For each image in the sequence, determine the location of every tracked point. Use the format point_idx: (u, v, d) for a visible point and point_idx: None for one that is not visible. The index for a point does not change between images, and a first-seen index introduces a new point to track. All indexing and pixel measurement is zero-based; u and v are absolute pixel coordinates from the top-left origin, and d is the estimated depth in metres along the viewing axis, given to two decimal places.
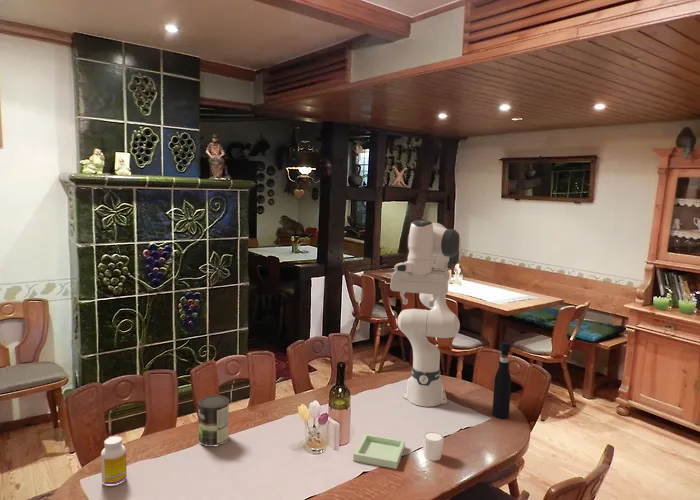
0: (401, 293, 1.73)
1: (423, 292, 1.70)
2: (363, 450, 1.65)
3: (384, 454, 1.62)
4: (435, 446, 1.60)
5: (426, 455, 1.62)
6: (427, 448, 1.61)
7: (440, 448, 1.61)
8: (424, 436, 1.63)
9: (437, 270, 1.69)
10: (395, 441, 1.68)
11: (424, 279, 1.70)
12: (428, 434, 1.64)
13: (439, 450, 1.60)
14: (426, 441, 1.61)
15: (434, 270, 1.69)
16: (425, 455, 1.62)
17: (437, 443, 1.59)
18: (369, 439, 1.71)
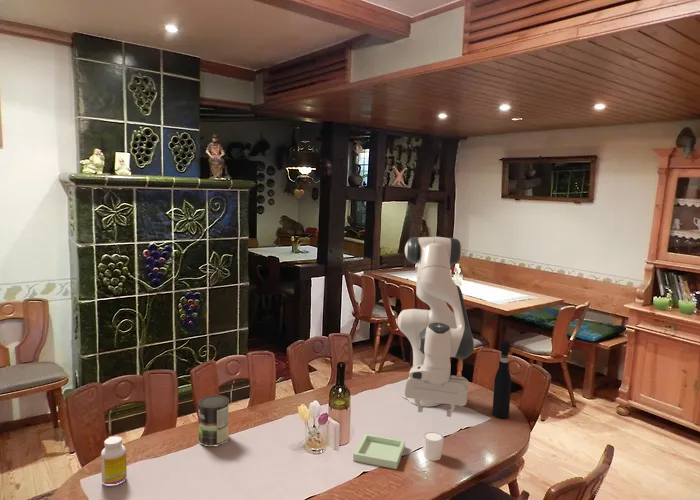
0: (416, 400, 1.62)
1: (440, 401, 1.59)
2: (363, 450, 1.65)
3: (384, 454, 1.62)
4: (435, 446, 1.60)
5: (426, 455, 1.62)
6: (427, 448, 1.61)
7: (440, 448, 1.61)
8: (424, 436, 1.63)
9: (455, 378, 1.58)
10: (395, 441, 1.68)
11: (441, 387, 1.58)
12: (428, 434, 1.64)
13: (439, 450, 1.60)
14: (426, 441, 1.61)
15: (452, 378, 1.58)
16: (425, 455, 1.62)
17: (437, 443, 1.59)
18: (369, 439, 1.71)
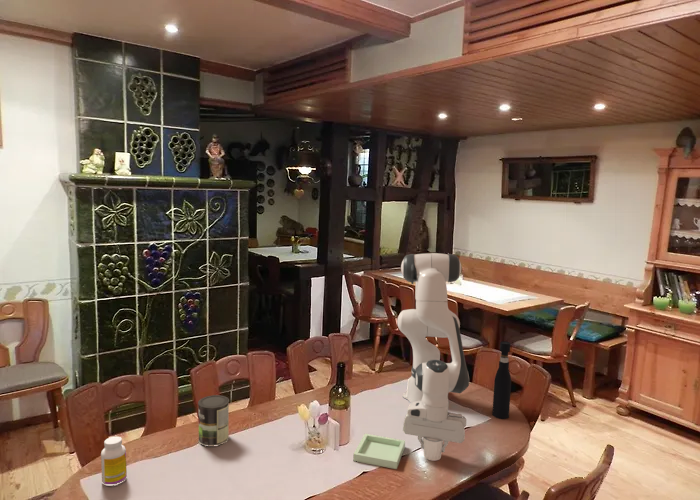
0: (419, 437, 1.63)
1: (438, 438, 1.60)
2: (363, 450, 1.65)
3: (384, 454, 1.62)
4: (435, 446, 1.60)
5: (426, 455, 1.62)
6: (427, 448, 1.61)
7: (440, 448, 1.61)
8: None
9: (453, 416, 1.59)
10: (395, 441, 1.68)
11: (439, 425, 1.60)
12: None
13: (439, 450, 1.60)
14: (426, 441, 1.61)
15: (450, 415, 1.60)
16: (425, 455, 1.62)
17: (437, 443, 1.59)
18: (369, 439, 1.71)
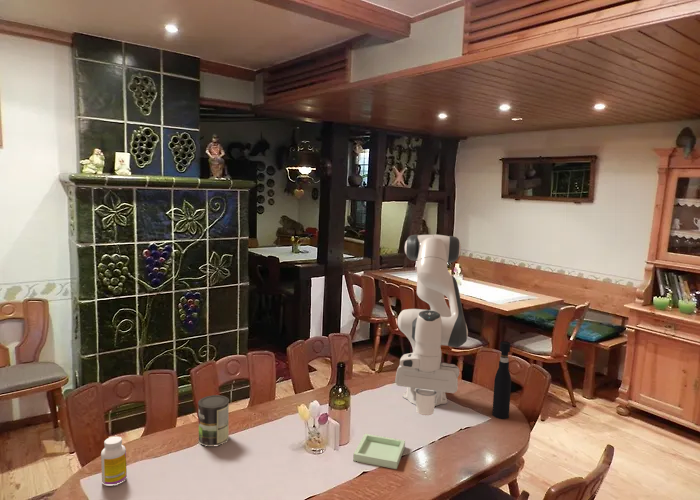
0: (412, 388, 1.61)
1: (431, 389, 1.58)
2: (363, 450, 1.65)
3: (384, 454, 1.62)
4: (428, 400, 1.58)
5: (419, 410, 1.60)
6: (420, 403, 1.59)
7: (433, 402, 1.59)
8: (417, 391, 1.60)
9: (446, 366, 1.58)
10: (395, 441, 1.68)
11: (432, 375, 1.58)
12: (420, 389, 1.62)
13: (432, 404, 1.59)
14: (419, 396, 1.59)
15: (443, 365, 1.58)
16: (418, 410, 1.60)
17: (430, 397, 1.58)
18: (369, 439, 1.71)
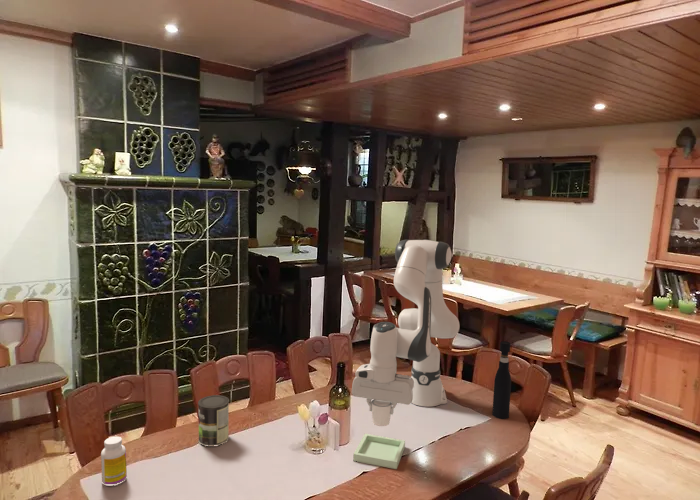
0: (368, 399, 1.62)
1: (386, 400, 1.59)
2: (363, 450, 1.65)
3: (384, 454, 1.62)
4: (383, 411, 1.59)
5: (374, 421, 1.61)
6: (375, 414, 1.60)
7: (388, 413, 1.60)
8: (372, 402, 1.61)
9: (401, 377, 1.58)
10: (395, 441, 1.68)
11: (387, 386, 1.59)
12: (377, 400, 1.63)
13: (387, 415, 1.60)
14: (374, 407, 1.60)
15: (397, 377, 1.59)
16: (374, 421, 1.61)
17: (385, 408, 1.59)
18: (369, 439, 1.71)
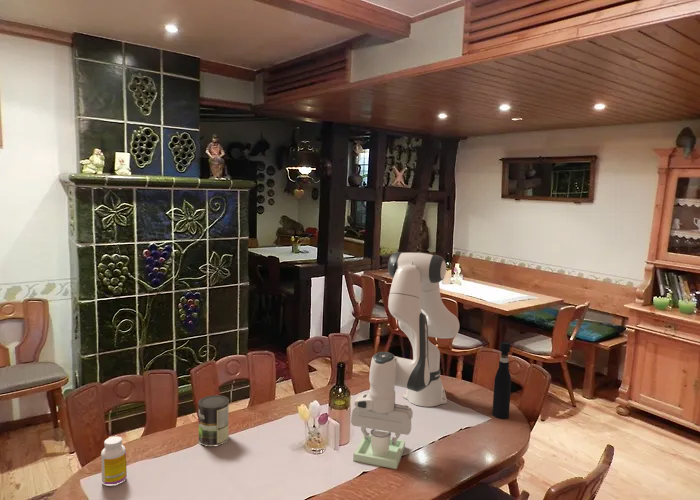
0: (362, 428, 1.64)
1: (385, 430, 1.61)
2: (363, 450, 1.65)
3: None
4: (382, 442, 1.60)
5: (373, 451, 1.62)
6: (374, 444, 1.61)
7: (387, 444, 1.61)
8: (371, 432, 1.63)
9: (399, 407, 1.60)
10: None
11: (386, 416, 1.60)
12: (376, 430, 1.65)
13: (386, 446, 1.61)
14: (373, 437, 1.61)
15: (396, 407, 1.60)
16: (373, 451, 1.62)
17: (384, 439, 1.60)
18: (369, 439, 1.71)
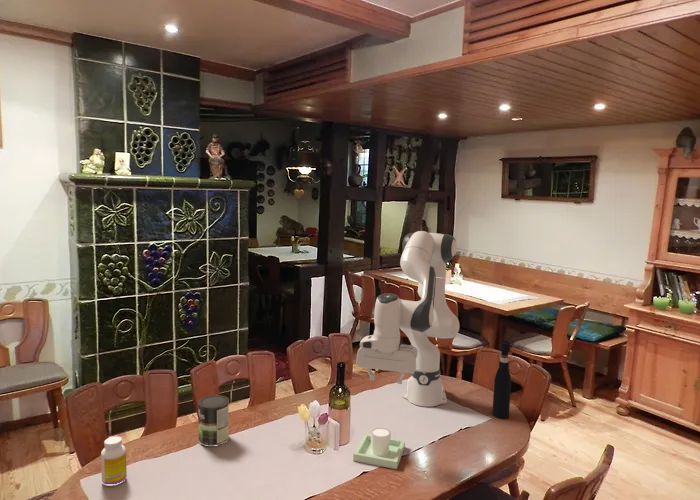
0: (368, 369, 1.66)
1: (390, 369, 1.62)
2: (363, 450, 1.65)
3: None
4: (382, 442, 1.60)
5: (373, 451, 1.62)
6: (374, 444, 1.61)
7: (387, 444, 1.61)
8: (371, 432, 1.63)
9: (404, 347, 1.61)
10: (395, 441, 1.68)
11: (391, 356, 1.62)
12: (376, 430, 1.65)
13: (386, 446, 1.61)
14: (373, 437, 1.61)
15: (401, 347, 1.62)
16: (373, 451, 1.62)
17: (384, 439, 1.60)
18: (369, 439, 1.71)
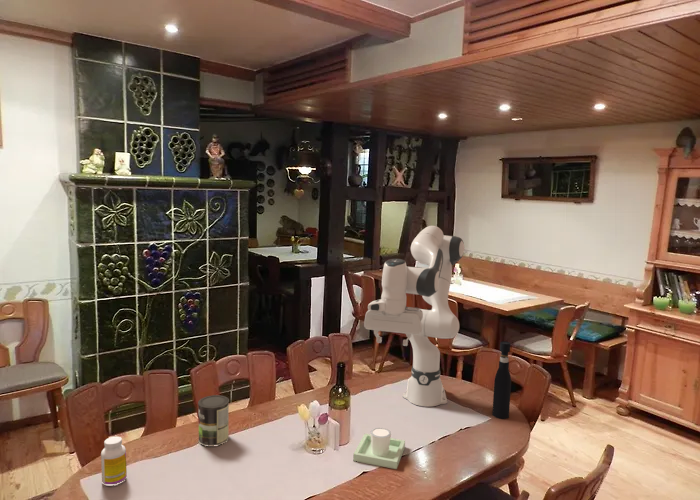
0: (375, 331, 1.73)
1: (396, 331, 1.70)
2: (363, 450, 1.65)
3: None
4: (382, 442, 1.60)
5: (373, 451, 1.62)
6: (374, 444, 1.61)
7: (387, 444, 1.61)
8: (371, 432, 1.63)
9: (410, 309, 1.69)
10: (395, 441, 1.68)
11: (397, 318, 1.70)
12: (376, 430, 1.65)
13: (386, 446, 1.61)
14: (373, 437, 1.61)
15: (407, 309, 1.69)
16: (373, 451, 1.62)
17: (384, 439, 1.60)
18: (369, 439, 1.71)
